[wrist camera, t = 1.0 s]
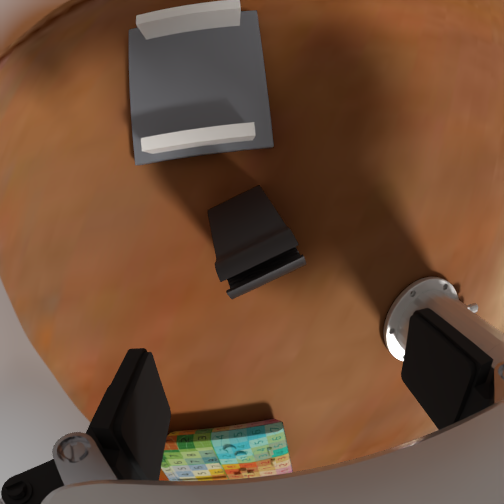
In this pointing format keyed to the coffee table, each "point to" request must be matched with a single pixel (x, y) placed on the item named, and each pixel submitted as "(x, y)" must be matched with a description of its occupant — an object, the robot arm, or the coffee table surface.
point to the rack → (197, 82)
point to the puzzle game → (227, 452)
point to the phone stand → (251, 242)
